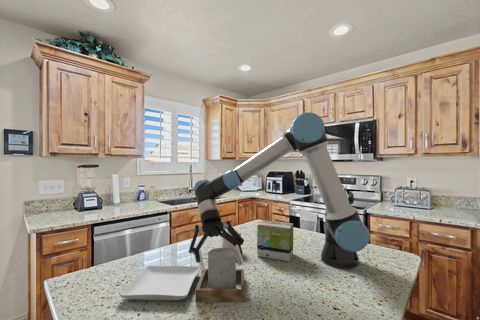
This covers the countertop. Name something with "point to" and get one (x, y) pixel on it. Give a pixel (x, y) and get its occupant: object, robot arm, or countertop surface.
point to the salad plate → (161, 283)
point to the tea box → (275, 240)
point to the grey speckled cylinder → (222, 268)
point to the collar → (220, 290)
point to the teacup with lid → (227, 244)
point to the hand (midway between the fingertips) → (222, 267)
